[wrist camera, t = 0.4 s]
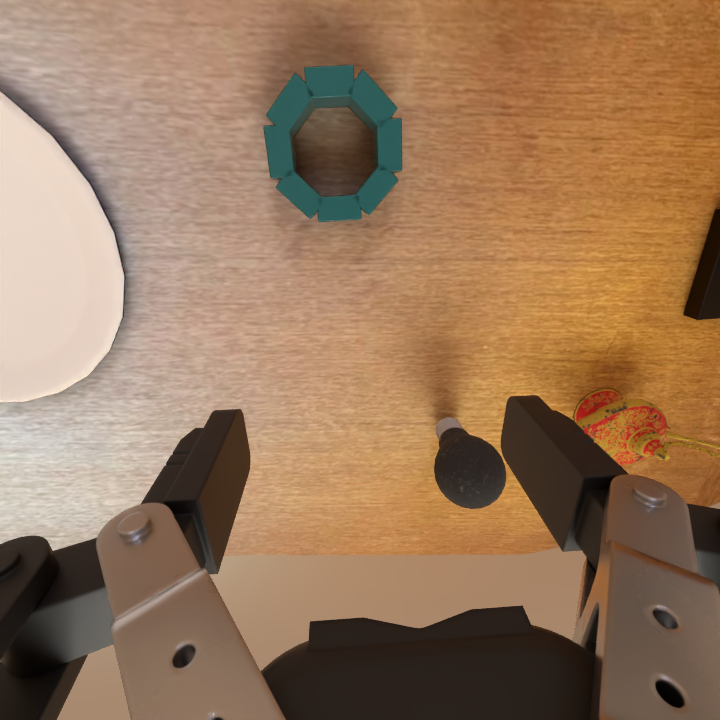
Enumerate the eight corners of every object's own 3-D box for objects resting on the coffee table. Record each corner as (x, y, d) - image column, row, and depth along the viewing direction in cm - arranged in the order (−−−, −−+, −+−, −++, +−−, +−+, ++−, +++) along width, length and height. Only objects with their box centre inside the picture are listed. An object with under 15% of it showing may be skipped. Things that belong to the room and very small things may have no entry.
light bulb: (411, 443, 38) (436, 522, 29) (425, 395, 36) (456, 464, 27) (464, 449, 39) (504, 527, 29) (480, 402, 36) (529, 471, 27)
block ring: (263, 82, 25) (255, 69, 22) (393, 76, 25) (401, 61, 23) (282, 221, 29) (276, 224, 26) (396, 214, 29) (402, 216, 26)
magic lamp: (501, 381, 36) (567, 455, 26) (679, 380, 37) (809, 449, 27) (490, 441, 38) (545, 528, 28) (656, 438, 40) (766, 520, 30)
